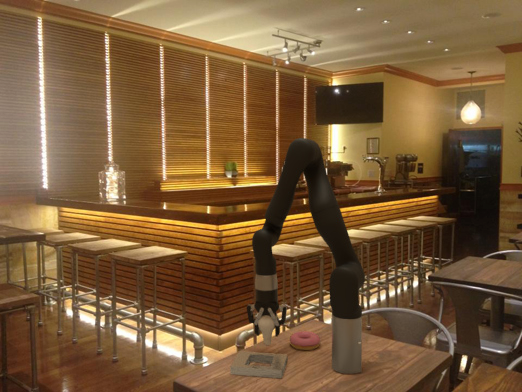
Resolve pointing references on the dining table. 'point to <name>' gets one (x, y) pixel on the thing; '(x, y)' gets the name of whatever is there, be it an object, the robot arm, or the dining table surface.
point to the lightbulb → (266, 328)
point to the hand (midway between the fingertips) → (267, 335)
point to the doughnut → (304, 340)
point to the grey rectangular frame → (274, 371)
